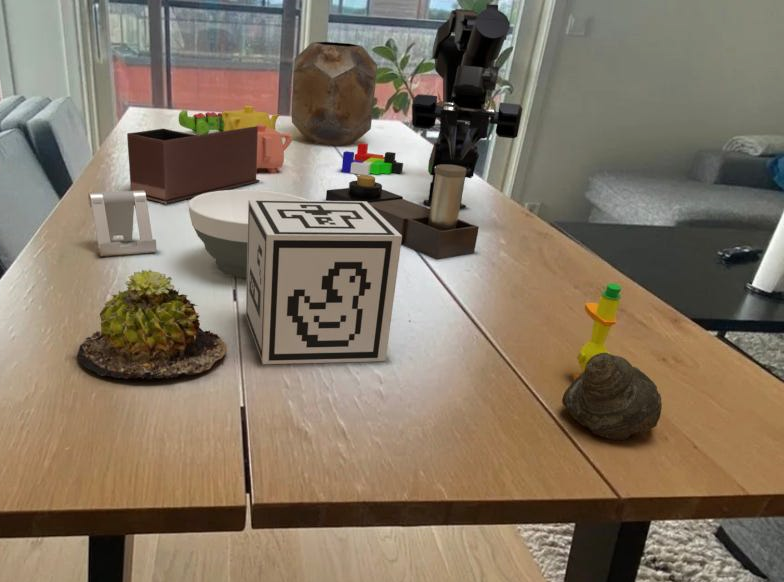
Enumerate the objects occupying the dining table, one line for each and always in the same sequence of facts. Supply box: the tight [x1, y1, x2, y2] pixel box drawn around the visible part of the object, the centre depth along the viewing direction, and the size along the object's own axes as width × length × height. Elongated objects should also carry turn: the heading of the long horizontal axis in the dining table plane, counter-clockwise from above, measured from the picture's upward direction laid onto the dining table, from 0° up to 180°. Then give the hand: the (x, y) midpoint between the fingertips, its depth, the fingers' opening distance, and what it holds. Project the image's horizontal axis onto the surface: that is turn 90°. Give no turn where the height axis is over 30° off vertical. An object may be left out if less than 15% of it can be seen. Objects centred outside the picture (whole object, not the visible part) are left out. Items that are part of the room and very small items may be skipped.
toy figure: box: [573, 282, 622, 381], centre depth 88 cm, size 7×4×12 cm, turn 8°
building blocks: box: [341, 142, 404, 176], centre depth 185 cm, size 15×13×4 cm
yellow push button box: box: [325, 180, 404, 203], centre depth 155 cm, size 12×10×4 cm
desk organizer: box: [126, 126, 260, 205], centre depth 156 cm, size 10×29×11 cm, turn 145°
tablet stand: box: [87, 190, 157, 257], centre depth 120 cm, size 9×8×8 cm
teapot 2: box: [256, 124, 293, 174], centre depth 175 cm, size 12×12×10 cm
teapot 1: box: [221, 105, 282, 131], centre depth 194 cm, size 14×13×10 cm
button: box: [356, 174, 376, 187], centre depth 154 cm, size 4×4×2 cm
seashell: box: [561, 353, 663, 441], centre depth 80 cm, size 11×12×10 cm
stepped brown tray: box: [369, 198, 480, 260], centre depth 136 cm, size 9×20×4 cm, turn 34°
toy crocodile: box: [178, 109, 225, 135], centre depth 211 cm, size 20×7×6 cm, turn 114°
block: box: [245, 200, 402, 365], centre depth 93 cm, size 15×15×15 cm
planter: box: [290, 41, 378, 147], centre depth 208 cm, size 22×24×24 cm
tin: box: [428, 164, 466, 231], centre depth 130 cm, size 5×5×13 cm
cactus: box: [76, 268, 227, 380], centre depth 87 cm, size 17×16×10 cm
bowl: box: [187, 189, 311, 280], centre depth 115 cm, size 20×20×10 cm
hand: (456, 158), depth 133 cm, fingers closed
